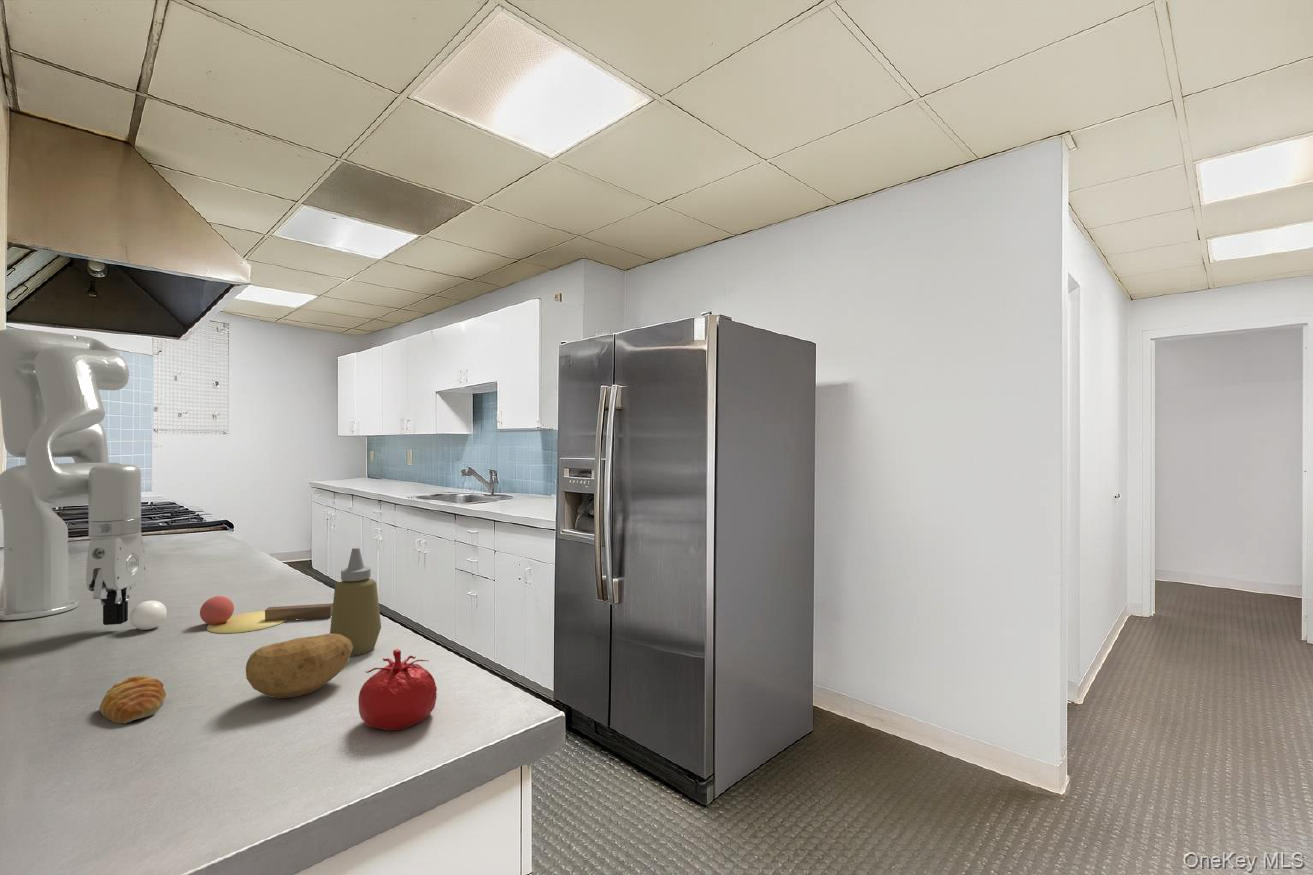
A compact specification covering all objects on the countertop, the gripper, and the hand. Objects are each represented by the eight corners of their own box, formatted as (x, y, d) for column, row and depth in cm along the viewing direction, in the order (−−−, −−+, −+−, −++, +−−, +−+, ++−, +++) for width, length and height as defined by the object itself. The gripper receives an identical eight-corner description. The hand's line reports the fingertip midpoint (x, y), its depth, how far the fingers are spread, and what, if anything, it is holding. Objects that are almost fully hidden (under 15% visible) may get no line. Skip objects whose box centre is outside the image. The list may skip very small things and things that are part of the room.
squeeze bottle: (318, 655, 102) (318, 550, 102) (358, 640, 109) (358, 543, 109) (353, 662, 99) (353, 554, 99) (391, 646, 106) (391, 546, 106)
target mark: (193, 625, 118) (193, 624, 118) (269, 608, 130) (269, 607, 130) (227, 638, 110) (227, 637, 110) (304, 618, 122) (304, 617, 122)
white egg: (165, 595, 116) (175, 621, 117) (156, 595, 119) (165, 621, 120) (130, 608, 112) (140, 635, 112) (121, 608, 115) (131, 634, 115)
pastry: (172, 714, 81) (172, 686, 81) (105, 733, 76) (105, 703, 76) (160, 694, 87) (160, 668, 87) (97, 710, 82) (97, 683, 82)
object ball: (217, 586, 119) (242, 601, 120) (214, 597, 122) (238, 612, 123) (194, 608, 114) (220, 623, 115) (190, 619, 118) (216, 634, 119)
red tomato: (387, 747, 72) (387, 671, 72) (341, 726, 77) (341, 654, 77) (454, 715, 80) (454, 646, 80) (408, 697, 86) (408, 633, 86)
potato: (364, 686, 89) (364, 633, 89) (256, 719, 79) (256, 659, 79) (339, 669, 96) (339, 619, 96) (235, 698, 85) (235, 642, 85)
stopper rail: (330, 617, 123) (330, 605, 123) (265, 622, 120) (264, 609, 120) (333, 615, 125) (333, 603, 125) (268, 619, 122) (268, 607, 122)
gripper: (113, 533, 108) (113, 634, 108) (160, 522, 123) (160, 610, 123) (63, 535, 106) (63, 637, 106) (117, 523, 121) (117, 613, 121)
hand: (115, 622), depth 115 cm, fingers closed
